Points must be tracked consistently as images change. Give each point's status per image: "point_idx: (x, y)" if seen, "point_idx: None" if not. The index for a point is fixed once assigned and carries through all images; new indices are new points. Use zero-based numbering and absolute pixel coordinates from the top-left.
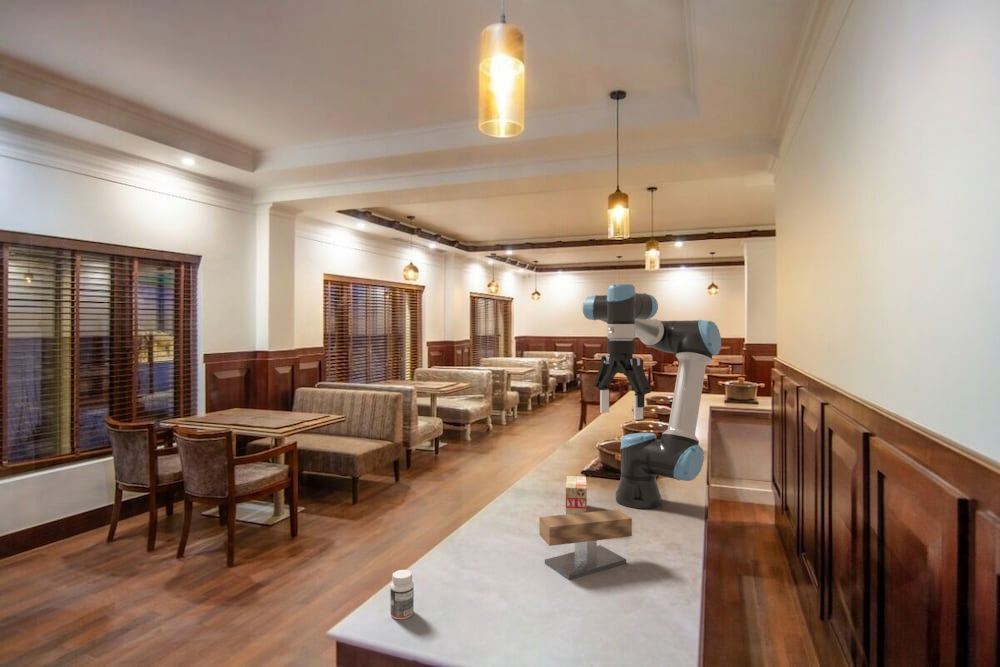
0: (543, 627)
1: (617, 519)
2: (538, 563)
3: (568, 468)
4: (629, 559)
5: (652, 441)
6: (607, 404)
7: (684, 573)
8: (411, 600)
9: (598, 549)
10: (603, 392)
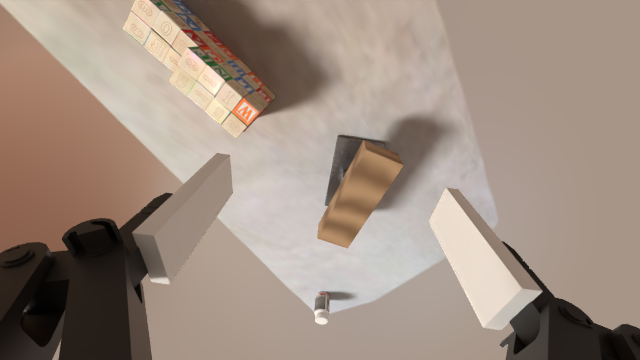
0: (396, 259)
1: (390, 182)
2: (320, 206)
3: None
4: (380, 131)
5: None
6: (212, 184)
7: (451, 111)
8: (328, 303)
9: (344, 148)
10: (176, 261)
